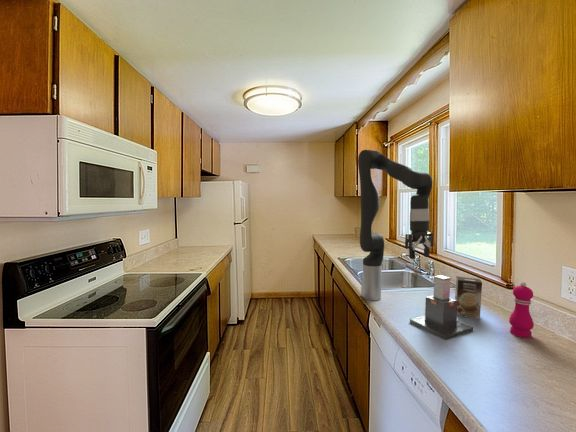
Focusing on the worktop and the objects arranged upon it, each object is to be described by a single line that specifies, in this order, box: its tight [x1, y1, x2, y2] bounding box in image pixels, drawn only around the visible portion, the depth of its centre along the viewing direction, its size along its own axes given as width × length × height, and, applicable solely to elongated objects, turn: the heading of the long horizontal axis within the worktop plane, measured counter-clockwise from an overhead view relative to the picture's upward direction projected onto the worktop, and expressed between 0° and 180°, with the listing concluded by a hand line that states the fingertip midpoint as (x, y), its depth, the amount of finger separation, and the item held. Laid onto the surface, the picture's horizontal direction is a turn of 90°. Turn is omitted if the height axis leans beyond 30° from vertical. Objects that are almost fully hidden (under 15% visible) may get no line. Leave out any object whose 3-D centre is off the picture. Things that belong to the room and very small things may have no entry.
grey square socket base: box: [409, 294, 474, 341], centre depth 115 cm, size 16×16×12 cm
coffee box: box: [454, 276, 483, 320], centre depth 126 cm, size 9×6×16 cm
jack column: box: [433, 274, 452, 301], centre depth 115 cm, size 4×4×18 cm
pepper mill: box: [508, 281, 535, 339], centre depth 109 cm, size 7×7×20 cm
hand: (419, 257), depth 123 cm, fingers open, 8 cm apart
